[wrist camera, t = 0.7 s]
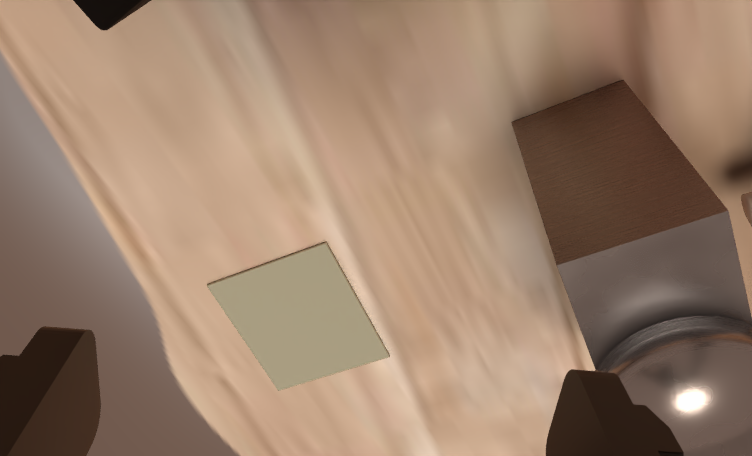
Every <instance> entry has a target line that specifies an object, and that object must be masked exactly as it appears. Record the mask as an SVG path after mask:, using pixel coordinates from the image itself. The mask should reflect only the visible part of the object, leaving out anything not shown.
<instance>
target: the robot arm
mask: <svg viewBox="0 0 752 456" xmlns="http://www.w3.org/2000/svg"><path fill="white" fill-rule="evenodd" d="M100 409H101V401H100V389H99V377H98V365H97V354H96V342H95V337H94V334H93V332H92V331H91V330H84V329H71V328H59V327H46V326H45V327H42V328H40V329H39V330H38V331H37V332H36V334H35V335H34V337H33V338H32V339H31V341H30V342H29V343H28V345H27V346H26V347H25V349H24V350H23V352H22V353H21V354H20V356H12V355H2V356H1V357H0V456H86V455H87V453H88V451H89V449H90V447H91V445H92V443H93V440H94V438H95V435H96V432H97V428H98V424H99V418H100ZM546 456H684V452H683V450H682V449H681V447H680V445H679V443H678V442H677V440H676V438H675V436H674V435H673V433H672V431H671V429H670V428H669V427H668V426H667V425H666V424H665V423H664V422H663V421H662V420H661V419H660V418H659V417H658V416H657V415H655V414H654V413H653V412H652V411H651V410H650V409H649V408H648V407H647V406H646V405H636V404H633V403H632V401H631V399H630V397H629V395H628V393H627V391H626V389H625V387H624V386H623V384H622V382H621V380H620V378H619V377H618V376H617V375H616V374H615V373H610V372H597V371H584V370H570V371H569V372H568V373H567V374H566V377H565V379H564V382H563V386H562V389H561V392H560V396H559V399H558V403H557V406H556V410H555V413H554V416H553V420H552V423H551V427H550V430H549V433H548V437H547V443H546Z"/></svg>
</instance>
